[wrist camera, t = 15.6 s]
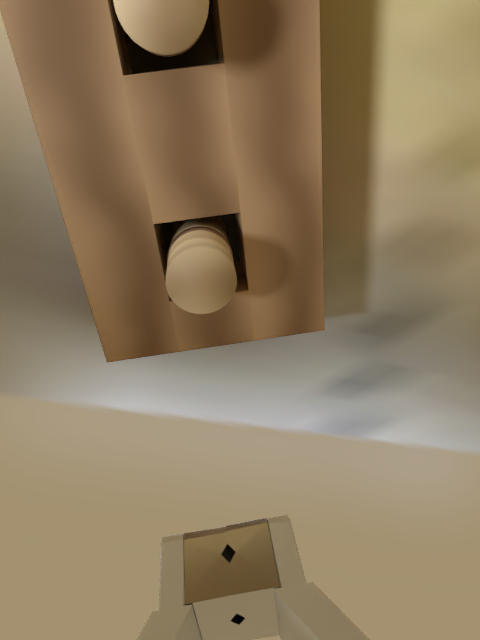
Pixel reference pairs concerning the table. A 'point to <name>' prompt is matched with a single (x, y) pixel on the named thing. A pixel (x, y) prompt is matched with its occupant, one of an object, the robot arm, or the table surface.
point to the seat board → (182, 164)
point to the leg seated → (163, 23)
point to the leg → (200, 265)
